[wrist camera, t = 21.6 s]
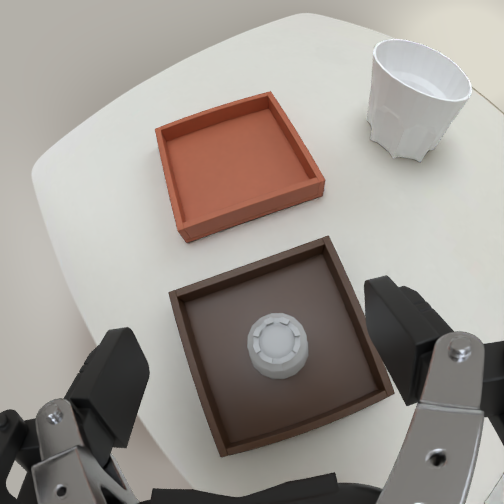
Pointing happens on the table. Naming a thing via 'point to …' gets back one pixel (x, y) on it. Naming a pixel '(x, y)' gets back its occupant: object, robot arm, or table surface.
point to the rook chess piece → (277, 345)
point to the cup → (413, 97)
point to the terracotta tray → (235, 165)
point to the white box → (497, 493)
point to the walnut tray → (318, 337)
